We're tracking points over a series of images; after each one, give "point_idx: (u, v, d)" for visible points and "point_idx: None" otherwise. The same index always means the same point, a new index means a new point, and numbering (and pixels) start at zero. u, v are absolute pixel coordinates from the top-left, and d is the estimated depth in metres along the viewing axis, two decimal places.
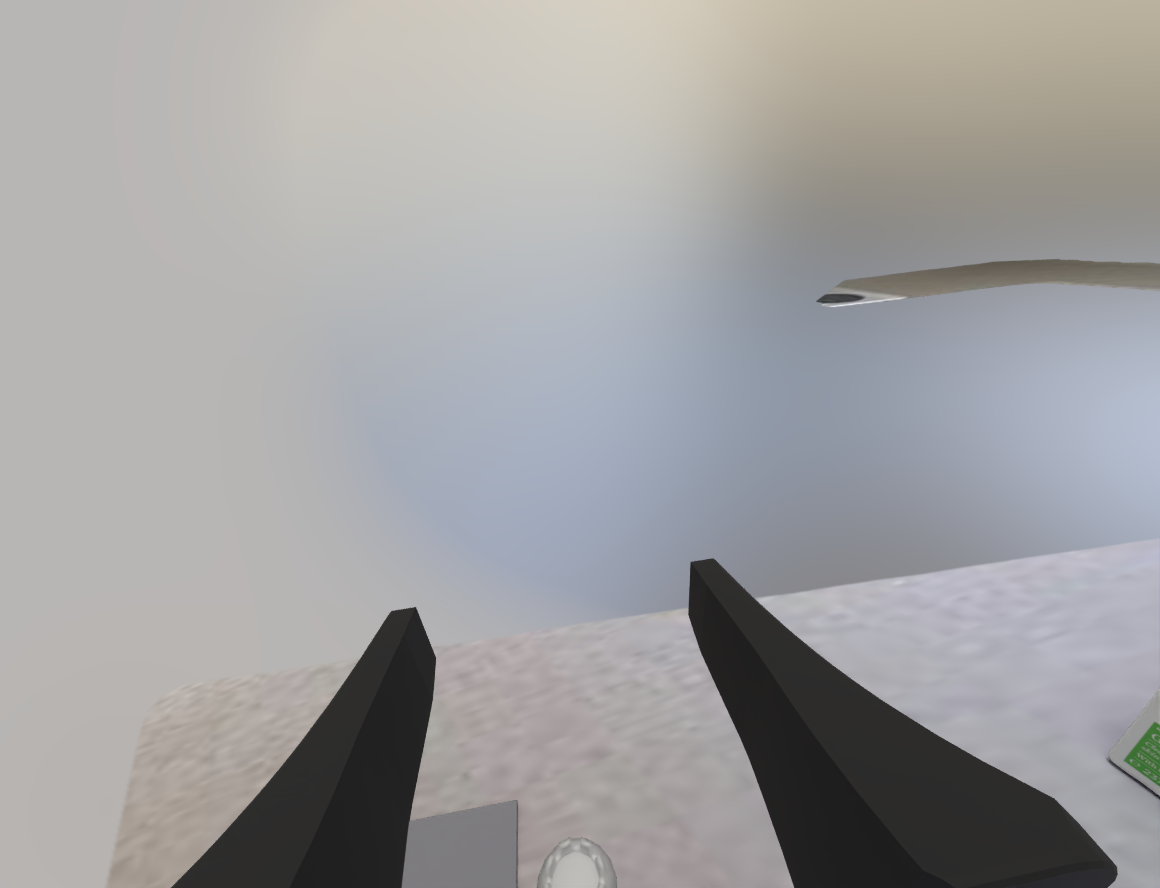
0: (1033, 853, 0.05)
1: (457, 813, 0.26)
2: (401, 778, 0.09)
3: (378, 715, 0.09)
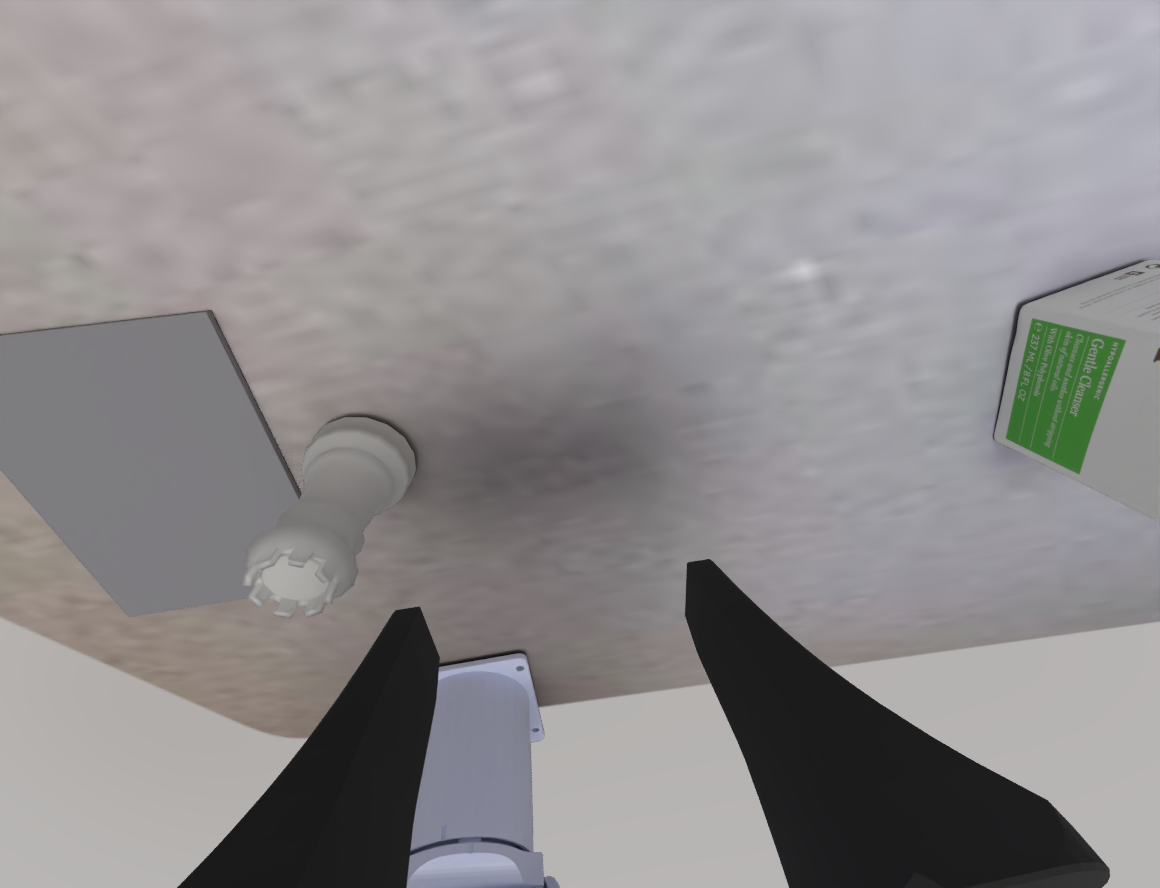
0: (1026, 855, 0.05)
1: (106, 326, 0.16)
2: (406, 777, 0.09)
3: (384, 714, 0.09)
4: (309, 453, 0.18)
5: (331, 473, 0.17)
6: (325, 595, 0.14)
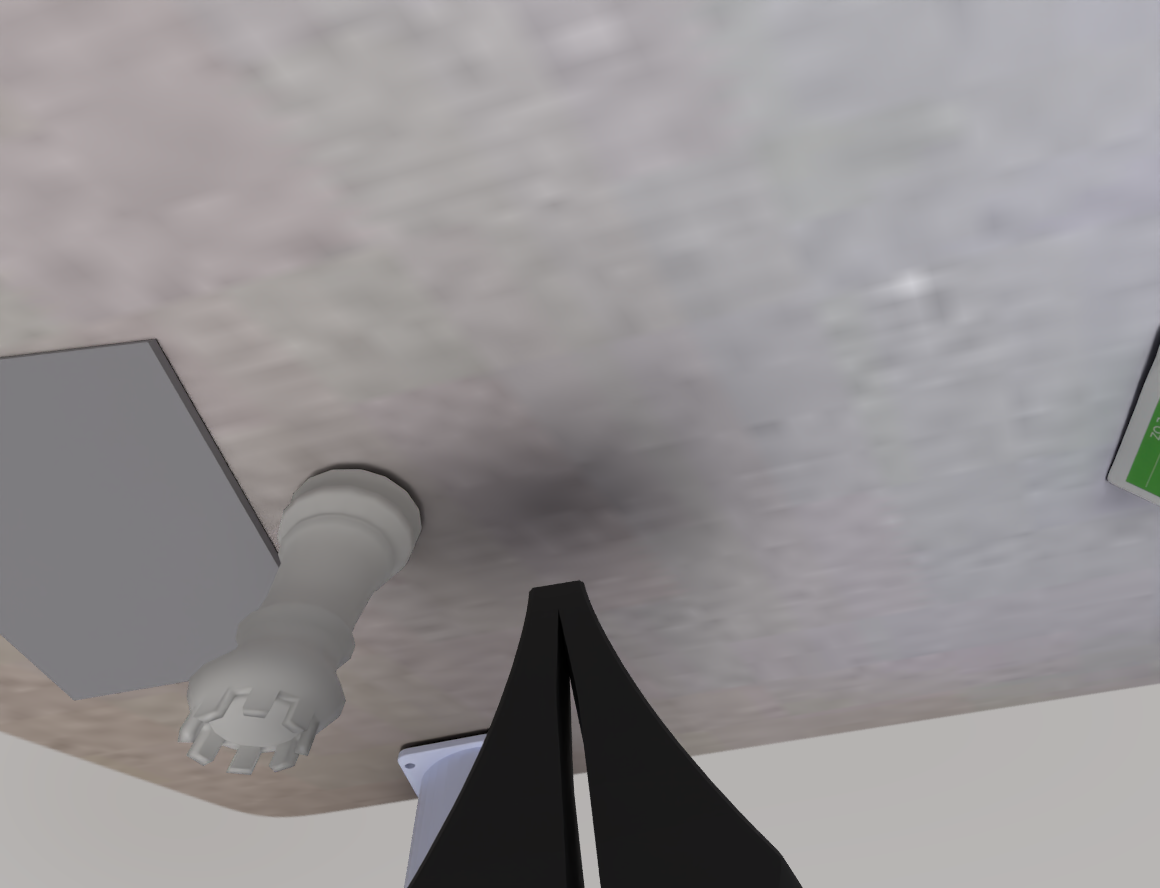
0: None
1: (16, 361, 0.12)
2: (568, 746, 0.09)
3: (558, 682, 0.09)
4: (286, 519, 0.14)
5: (312, 551, 0.13)
6: (298, 747, 0.10)
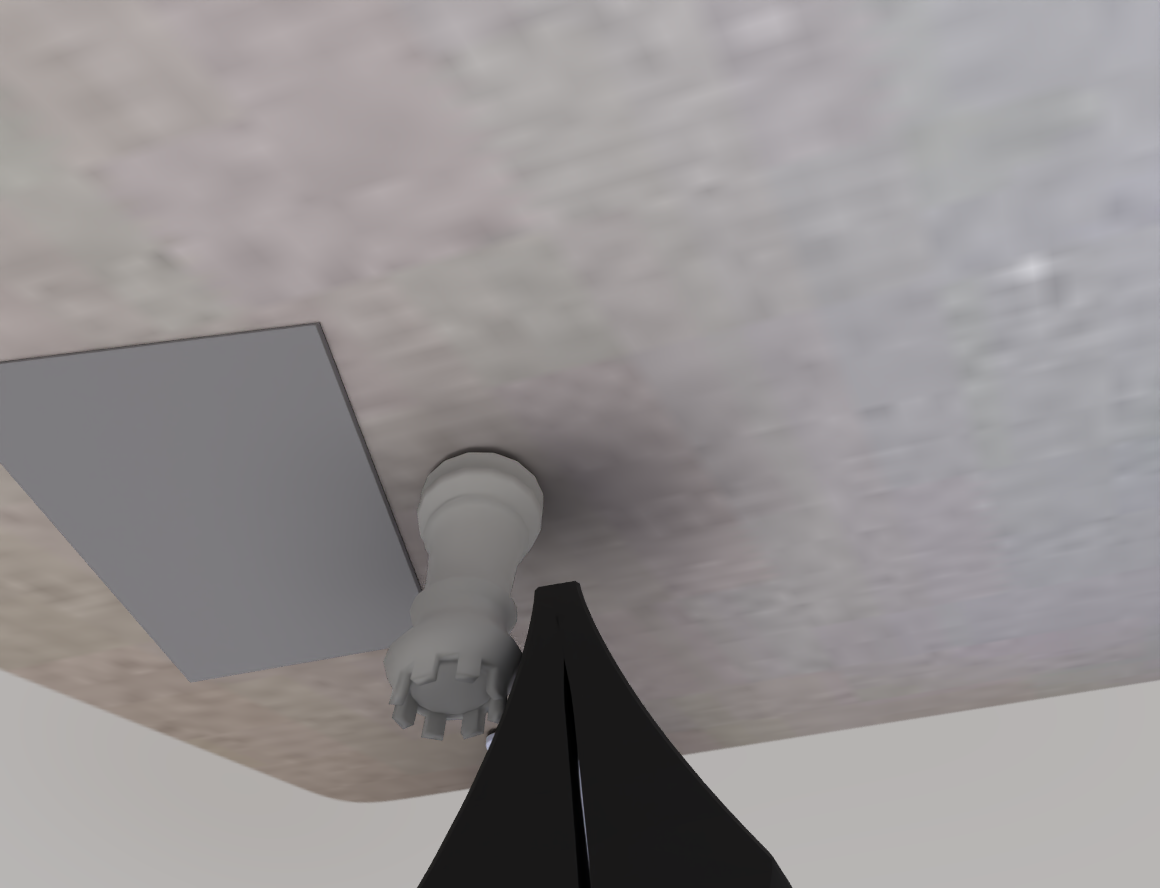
0: None
1: (190, 343, 0.13)
2: (575, 745, 0.09)
3: (565, 681, 0.09)
4: (430, 499, 0.14)
5: (467, 529, 0.13)
6: (493, 714, 0.10)
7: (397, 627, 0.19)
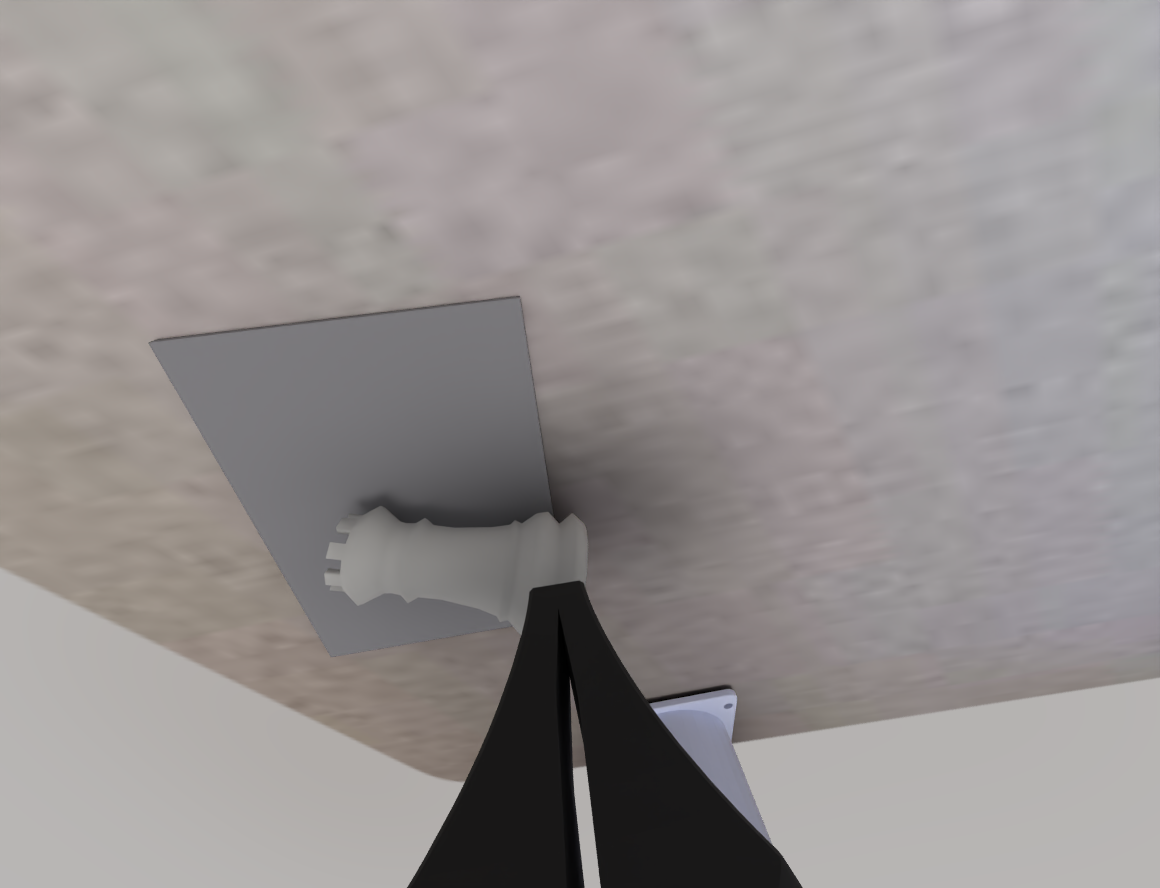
0: None
1: (400, 315, 0.13)
2: (568, 746, 0.09)
3: (558, 682, 0.09)
4: (531, 543, 0.14)
5: (472, 580, 0.14)
6: None
7: None
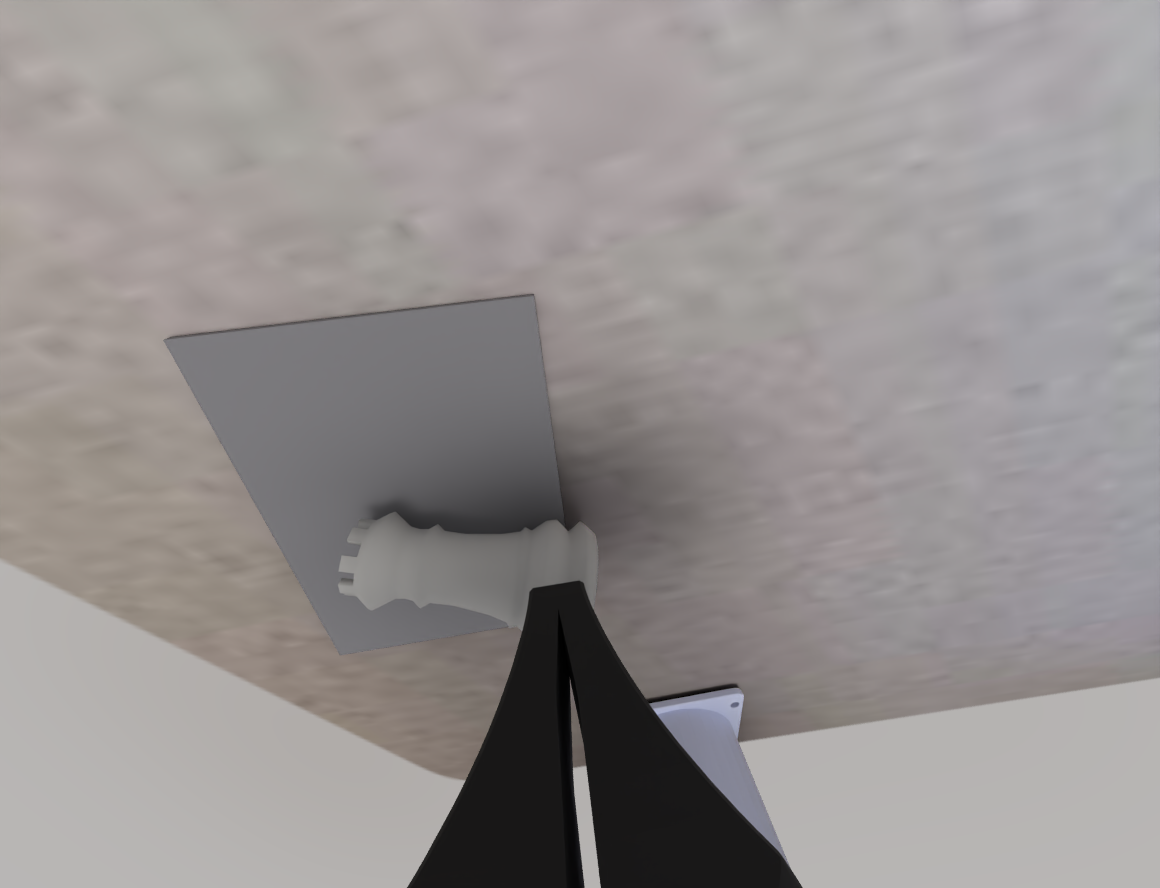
0: None
1: (415, 313, 0.13)
2: (568, 746, 0.09)
3: (559, 683, 0.09)
4: (541, 562, 0.14)
5: (483, 594, 0.14)
6: None
7: None
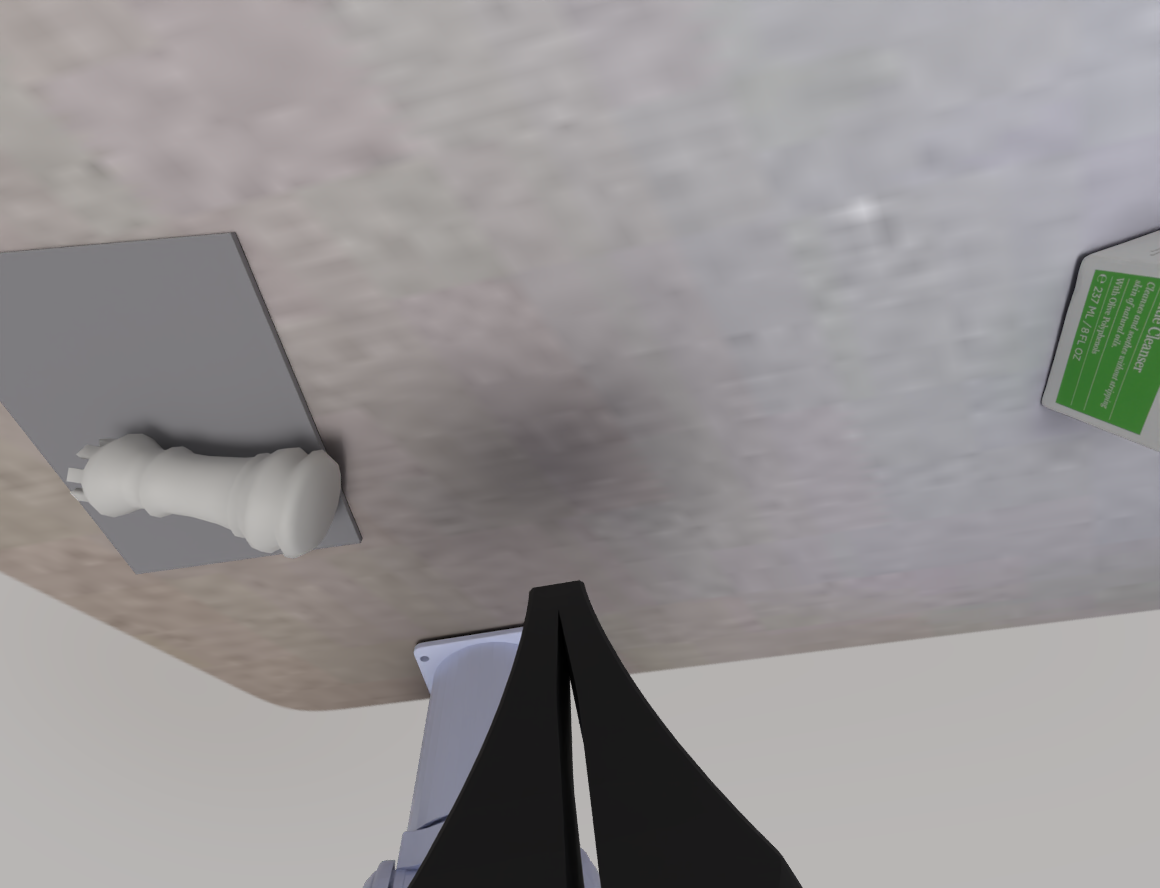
0: None
1: (122, 245, 0.15)
2: (568, 746, 0.09)
3: (558, 683, 0.09)
4: (250, 481, 0.16)
5: (203, 506, 0.16)
6: None
7: None
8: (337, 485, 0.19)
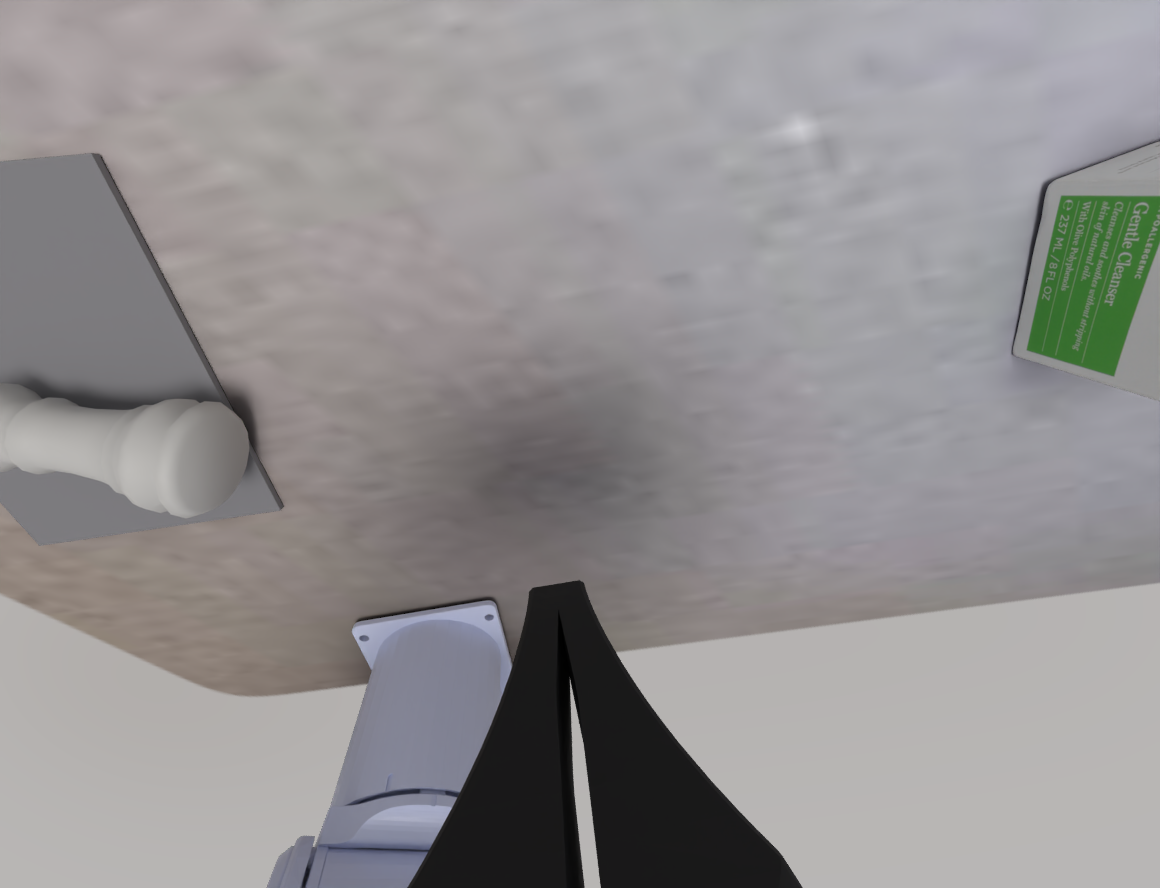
0: None
1: None
2: (568, 746, 0.09)
3: (559, 683, 0.09)
4: (126, 429, 0.15)
5: (77, 459, 0.15)
6: None
7: (237, 494, 0.20)
8: (243, 443, 0.18)
